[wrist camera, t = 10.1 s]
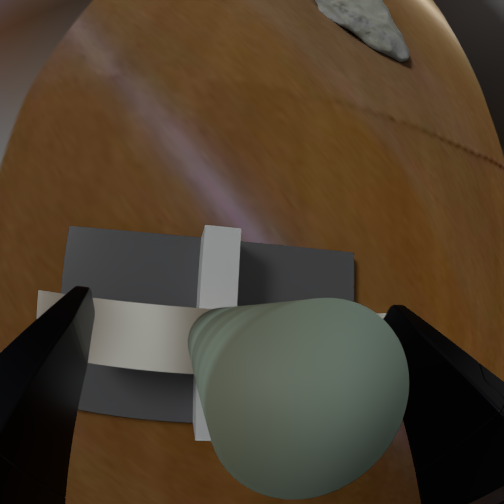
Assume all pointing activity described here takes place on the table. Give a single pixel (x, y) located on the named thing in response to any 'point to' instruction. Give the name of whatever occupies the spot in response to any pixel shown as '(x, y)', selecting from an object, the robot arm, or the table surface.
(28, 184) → the table surface
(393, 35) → the stone tool
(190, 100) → the table surface
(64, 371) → the robot arm
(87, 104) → the table surface
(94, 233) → the fulcrum stand
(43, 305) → the bar
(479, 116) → the table surface
